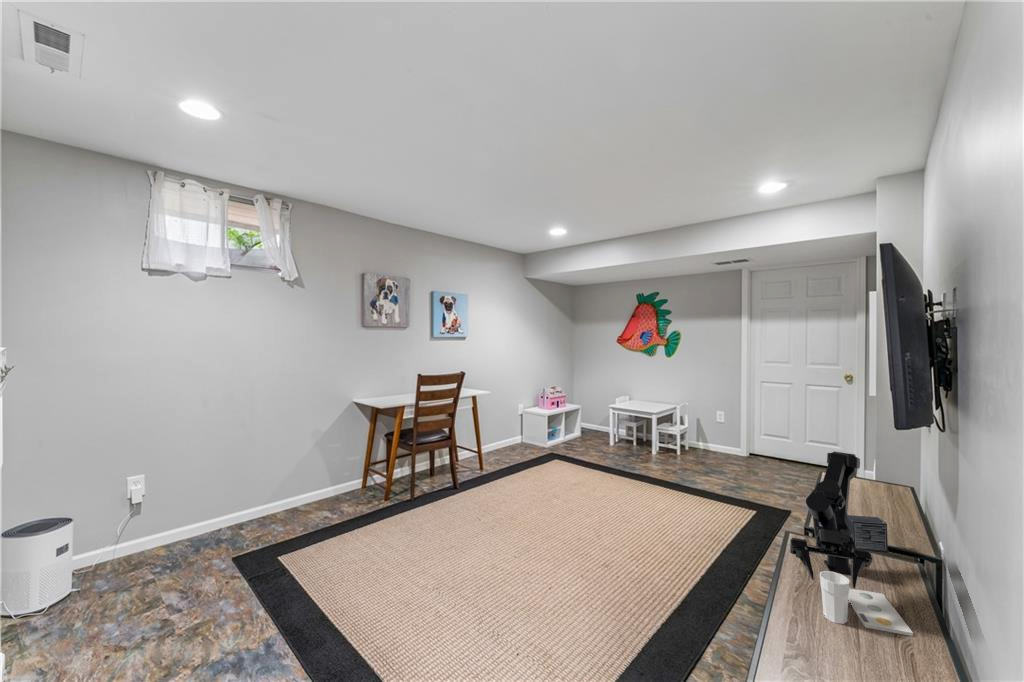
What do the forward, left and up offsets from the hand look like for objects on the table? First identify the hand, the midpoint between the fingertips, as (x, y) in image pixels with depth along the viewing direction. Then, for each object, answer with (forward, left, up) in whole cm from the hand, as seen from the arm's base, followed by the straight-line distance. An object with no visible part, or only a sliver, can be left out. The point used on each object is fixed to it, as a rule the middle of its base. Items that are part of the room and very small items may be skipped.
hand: (833, 583), depth 118 cm
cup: (+1, 0, -9) cm, 9 cm away
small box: (-49, +23, -9) cm, 54 cm away
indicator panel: (-6, +11, -9) cm, 15 cm away
